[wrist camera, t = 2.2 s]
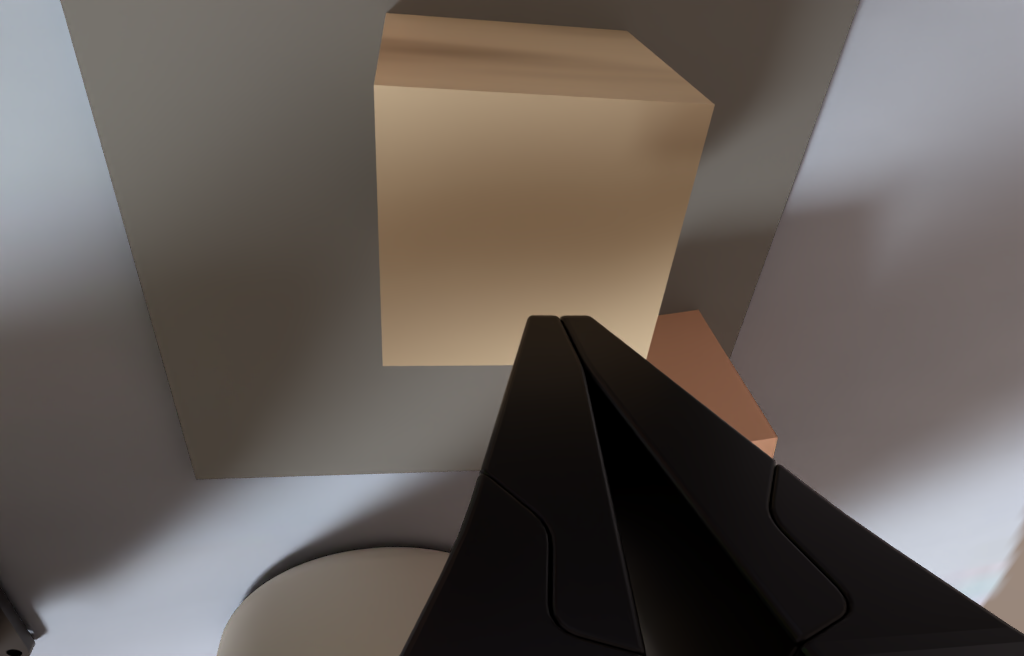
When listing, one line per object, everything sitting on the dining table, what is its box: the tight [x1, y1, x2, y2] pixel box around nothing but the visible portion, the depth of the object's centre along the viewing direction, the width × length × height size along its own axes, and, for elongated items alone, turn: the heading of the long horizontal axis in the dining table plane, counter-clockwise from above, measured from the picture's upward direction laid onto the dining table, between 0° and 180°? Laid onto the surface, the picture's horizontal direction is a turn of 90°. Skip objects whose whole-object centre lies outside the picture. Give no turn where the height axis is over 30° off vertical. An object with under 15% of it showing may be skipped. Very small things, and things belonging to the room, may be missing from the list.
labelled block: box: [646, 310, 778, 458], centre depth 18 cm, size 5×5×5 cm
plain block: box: [374, 13, 715, 366], centre depth 13 cm, size 5×5×5 cm
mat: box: [60, 0, 860, 479], centre depth 15 cm, size 22×16×1 cm
